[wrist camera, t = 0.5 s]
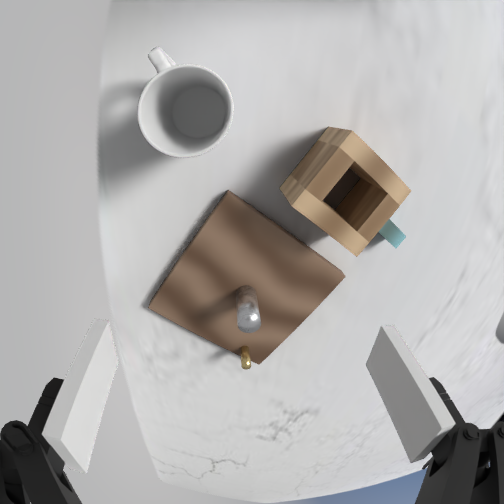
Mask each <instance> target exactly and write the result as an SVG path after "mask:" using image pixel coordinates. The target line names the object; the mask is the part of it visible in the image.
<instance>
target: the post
mask: <svg viewBox="0 0 504 504" xmlns="http://www.w3.org/2000/svg"><path fill="white" fill-rule="evenodd" d="M236 307H237V323H238V328H239V329H240V330H241V331H242V332H245V333H253V332H255V331H257V330H258V329H259V328H260V326H261V320H260V314H259V307H258V301H257V295H256V291H255V289H254V288H253V287H251V286H249V285H244V286H241V287H239V288H238V289H237V291H236Z"/></svg>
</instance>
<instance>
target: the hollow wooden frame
mask: <svg viewBox="0 0 504 504" xmlns="http://www.w3.org/2000/svg"><path fill="white" fill-rule="evenodd" d="M348 168H350V169H351V170H353V171H354V172H355V173H356V174H357V175H358V176H359V177H360V178H361V179H360V180H359V181H358V182H357V184H356V185H355V186H354V187H353V188H352V190H351V191H350V192H349V193H348V195H347V196H346V197H345V198H344V200H343V201H342V202H341V203H340V204H339V206H338V207H337V208H336V209H335V210H334V209H333V208H332V207H331V206H329V205H328V204H327V203H326V202H325V201H323V199H324V198H325V197H326V196H327V194H328V193H329V192H330V191H331V189H332V188H333V187H334V186H335V185H336V183H337V182H338V181H339V180H340V178H341V177H342V176H343V175H344V173H345V172H346V171H347V170H348ZM279 189H280V190H281V191H282V193H283V194H284V196H285V197H286V199H287V200H288V202H289V203H290V205H291V206H292V207H293V208H295V209H296V210H297V211H299V212H300V213H301V214H303V215H304V216H305V217H307V218H308V219H309V220H311V221H312V222H313V223H314V224H316V225H317V226H318V227H320V228H321V229H322V230H323V231H325V232H326V233H327V234H329V235H330V236H331V237H332V238H334V239H335V240H336V241H338V242H339V243H340V244H341V245H343V246H344V247H345V248H346V249H348V250H349V251H350V252H351V253H353V254H354V255H355V256H356V257H357V256H358V255H359V254H360V253H361V252H362V250H363V249H364V248H365V247H366V246H367V245H368V243H369V242H370V241H371V240H372V239H373V238H374V236H375V235H376V234H377V233H378V232H379V233H380V234H381V235H382V236H383V237H384V238H385V239H386V240H387V241H388V242H389V243H391V244H392V245H393V246H394V247H395V248H397V247H398V246H399V245H400V243H401V242H402V241H403V240H404V239H405V237H406V236H405V235H404V234H403V233H402V232H401V231H400V229H399V228H398V227H397V226H396V225H395V224H394V223H393V222H392V221H391V220H390V219H389V218H390V217H391V216H392V215H393V213H394V212H395V211H396V210H397V209H398V207H399V206H400V205H401V204H402V202H403V201H404V200H405V198H406V197H407V196H408V195H409V193H410V192H411V190H410V189H409V188H408V187H407V186H406V184H405V183H404V182H403V181H402V180H401V179H400V178H399V177H398V176H397V175H396V174H395V173H394V171H393V170H392V169H391V168H390V167H389V166H388V165H387V164H386V163H385V162H384V161H383V160H382V159H381V158H380V157H379V156H378V155H377V154H376V153H375V152H374V151H373V150H372V149H371V148H370V147H369V146H368V145H367V144H366V143H365V142H364V141H363V140H362V139H361V138H360V137H359V136H357V135H356V134H355V133H354V132H353V131H351V130H345V129H339V128H333V127H328V128H327V129H326V130H325V132H324V133H323V134H322V135H321V137H320V138H319V139H318V140H317V142H316V143H315V144H314V145H313V147H312V148H311V149H310V150H309V152H308V153H307V154H306V155H305V157H304V158H303V159H302V160H301V162H300V163H299V164H298V165H297V167H296V168H295V169H294V170H293V172H292V173H291V174H290V175H289V177H288V178H287V179H286V180H285V182H284V183H283V184H282V185H281V187H280V188H279Z"/></svg>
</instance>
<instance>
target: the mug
mask: <svg viewBox="0 0 504 504" xmlns="http://www.w3.org/2000/svg"><path fill="white" fill-rule="evenodd" d="M148 57H149V59H150V61H151V62H152V64H153V65H154V67H155V68H156V70H157V73H158V74H157V75H155V76H154V77H153V78H152V79H151V80H150V81H149V82H148V84H147V85H146V87H145V88H144V90H143V92H142V94H141V96H140V99H139V103H138V109H137V117H138V123H139V127H140V130H141V132H142V134H143V136H144V137H145V139H146V140H147V141H148V142H149V144H150V145H151V146H153V147H154V148H155V149H156V150H158V151H160V152H162V153H164V154H166V155H169V156H172V157H178V158H189V157H195V156H199V155H202V154H204V153H206V152H208V151H210V150H211V149H213V148H214V147H215V146H217V145H218V144H219V143H220V142H221V140H222V139H223V138H224V137H225V135H226V134H227V132H228V130H229V128H230V126H231V123H232V119H233V112H234V105H233V99H232V95H231V92H230V90H229V88H228V86H227V85H226V83H225V82H224V81H223V79H222V78H221V77H220V76H219V75H217V74H216V73H215V72H213V71H212V70H210V69H208V68H205V67H203V66H199V65H194V64H181V65H177V64H176V63H175V62H174V61H173V60H172V59H171V58H170V57H169V56H168V55H167V54H166V53H165V52H164V51H163V50H162V49H161V48H160V47H155V48H153V49H152V50H151V52H150V53H149V54H148Z"/></svg>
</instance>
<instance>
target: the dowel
mask: <svg viewBox="0 0 504 504" xmlns="http://www.w3.org/2000/svg"><path fill="white" fill-rule="evenodd" d="M240 349H241V363H242V368H243V369H249V368H250V367H251V362H250V353H249V347H248V346H242V347H241V348H240Z"/></svg>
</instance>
